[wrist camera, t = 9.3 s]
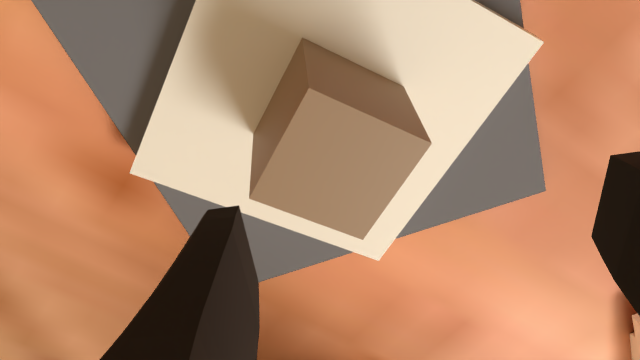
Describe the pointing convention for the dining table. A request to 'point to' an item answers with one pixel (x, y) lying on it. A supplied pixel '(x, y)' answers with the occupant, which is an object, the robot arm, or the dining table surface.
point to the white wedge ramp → (635, 338)
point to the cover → (328, 108)
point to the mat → (264, 237)
